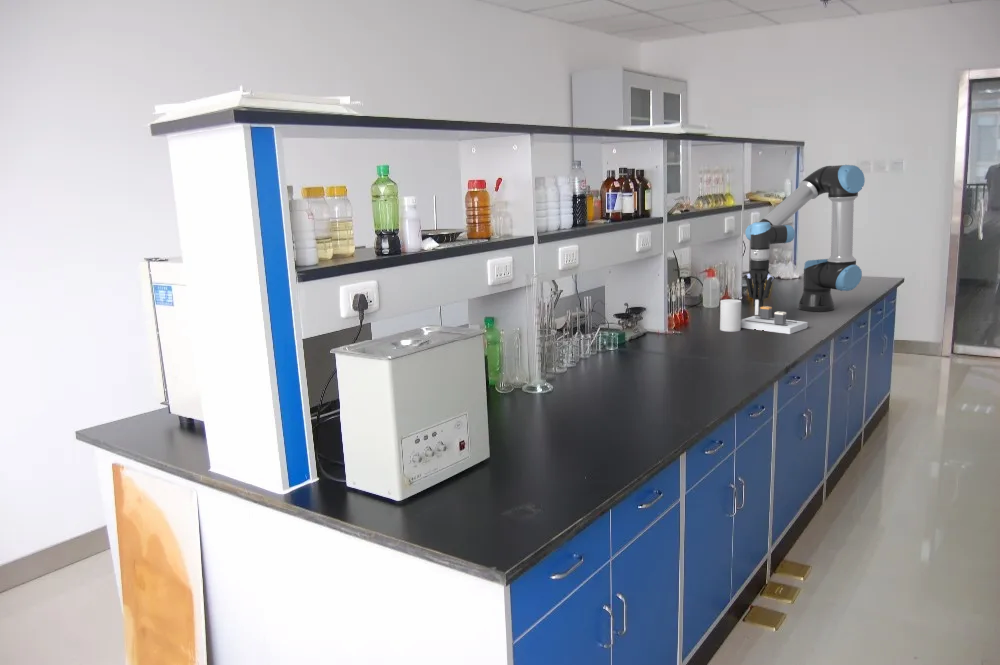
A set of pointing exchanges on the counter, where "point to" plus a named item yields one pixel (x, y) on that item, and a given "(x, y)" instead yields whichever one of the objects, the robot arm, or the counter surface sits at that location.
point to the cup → (730, 315)
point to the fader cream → (780, 318)
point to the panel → (773, 325)
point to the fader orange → (766, 312)
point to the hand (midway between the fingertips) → (758, 314)
